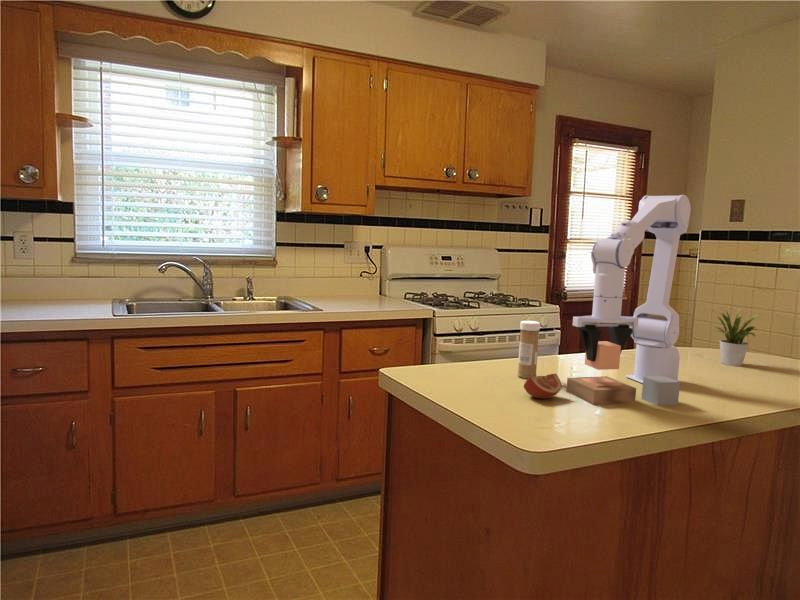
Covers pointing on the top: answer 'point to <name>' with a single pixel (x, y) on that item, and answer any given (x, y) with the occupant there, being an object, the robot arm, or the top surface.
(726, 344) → the house plant
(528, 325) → the sprinkles bottle
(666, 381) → the slate cube
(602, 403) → the walnut plinth
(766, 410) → the top surface
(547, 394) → the fruit slice
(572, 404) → the top surface
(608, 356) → the terracotta cube
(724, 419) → the top surface
